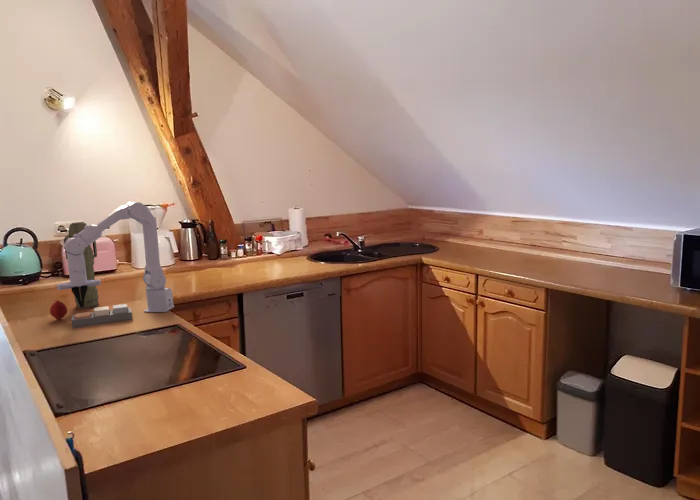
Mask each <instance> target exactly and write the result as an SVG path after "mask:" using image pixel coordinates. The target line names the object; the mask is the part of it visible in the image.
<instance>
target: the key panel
mask: <svg viewBox="0 0 700 500" xmlns="http://www.w3.org/2000/svg"><path fill="white" fill-rule="evenodd" d="M127 308H128V312H125V313H118V314H114V312H113V309H112V310H110V309H109V315H103V316H95V314H94V311H93V312H90V313H91V317H88V318H80V319H75V315H76V314H72V316H71V319H70V322H71V328H72V329H78V328H85V327H86V328H87V327H90V326H93V327H94V326H98V325H99V326H100V325H107V324H113V323H121V322H127V321H132V320H133V313H132V308H131V307H127Z"/></svg>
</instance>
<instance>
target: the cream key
mask: <svg viewBox="0 0 700 500" xmlns="http://www.w3.org/2000/svg"><path fill="white" fill-rule="evenodd" d="M109 310H110V307H109V305H108V306H98V307H93V312H94V314H95V316H103V315H109Z"/></svg>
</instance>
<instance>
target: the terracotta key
mask: <svg viewBox="0 0 700 500" xmlns="http://www.w3.org/2000/svg"><path fill="white" fill-rule="evenodd" d="M91 313H92V312H91V311H87V312H79V313H75V314H74V315H75V319H80V318H88V317H91Z"/></svg>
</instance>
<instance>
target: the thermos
mask: <svg viewBox="0 0 700 500" xmlns="http://www.w3.org/2000/svg"><path fill="white" fill-rule="evenodd" d="M86 225H87V223H86V222H84V221H80V222H79V221H78V222H72V223H70V224H69V227H68V235H65V237H64V238H63V245H64V244H65V242H66V240H68V239H69V238H74V236H73V235H74V234H76V235H77V234H78V233H79V232H81V231H82V230H84V229H85V228H84V227H85V226H86ZM96 243H97V240H96V241H94V242H93V243H92V244H90V245H89V246H88V247H85V250H84V252H83V254H84V258H85V267H86V274H87V280H96V278H95V277H96V276H95V269H94V268H95V267H94V265H95V258H97V257H98V249H97V244H96ZM91 245H92V246H91ZM64 254H65V260H67V251H66V250H65V249H64ZM79 289H80V287H79ZM73 295H74V294H73ZM80 297H81V293H80ZM74 302H75V306H76V308H77V309H91V308H96V307H97V306H98V307H99V291H98V288H97V285H96V286H88V289H87V292H86V295H85V299H84V307H80V306H79V303H78V300H77V299H76V297H75V295H74Z"/></svg>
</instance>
